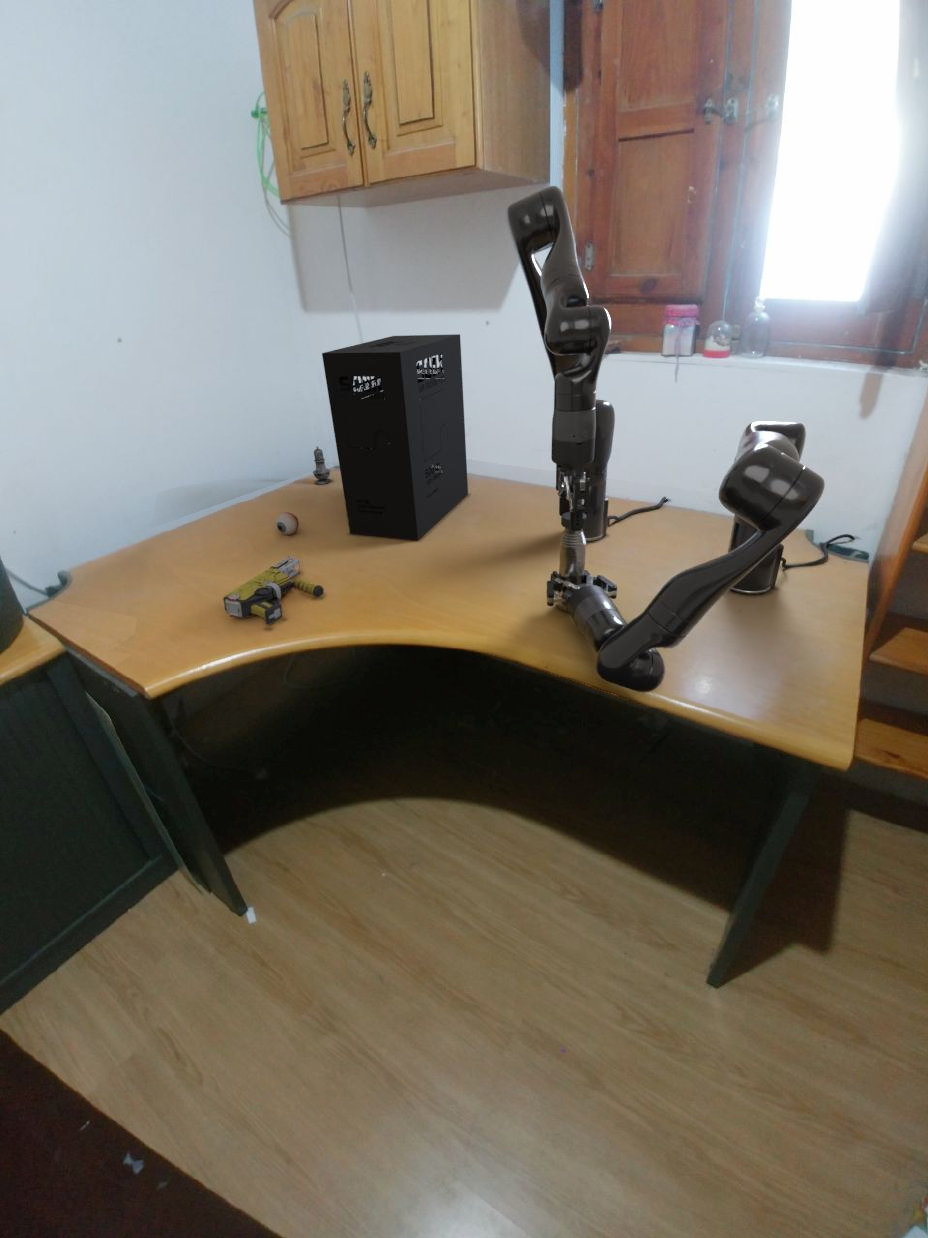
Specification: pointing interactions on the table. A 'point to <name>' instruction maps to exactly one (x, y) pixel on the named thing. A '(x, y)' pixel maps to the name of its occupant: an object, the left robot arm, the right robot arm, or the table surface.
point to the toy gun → (267, 592)
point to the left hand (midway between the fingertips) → (570, 522)
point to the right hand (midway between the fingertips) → (567, 573)
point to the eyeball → (287, 523)
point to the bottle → (572, 558)
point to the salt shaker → (320, 468)
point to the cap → (566, 520)
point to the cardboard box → (399, 432)
